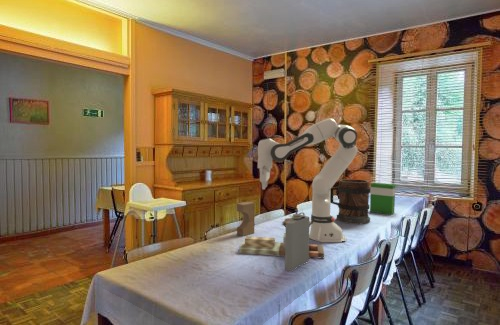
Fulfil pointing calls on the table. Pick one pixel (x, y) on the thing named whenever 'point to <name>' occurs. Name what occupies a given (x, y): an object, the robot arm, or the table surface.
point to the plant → (292, 218)
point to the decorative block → (246, 218)
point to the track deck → (280, 250)
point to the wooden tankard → (352, 201)
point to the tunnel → (284, 240)
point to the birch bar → (260, 241)
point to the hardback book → (382, 198)
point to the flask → (297, 242)
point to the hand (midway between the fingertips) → (264, 188)
